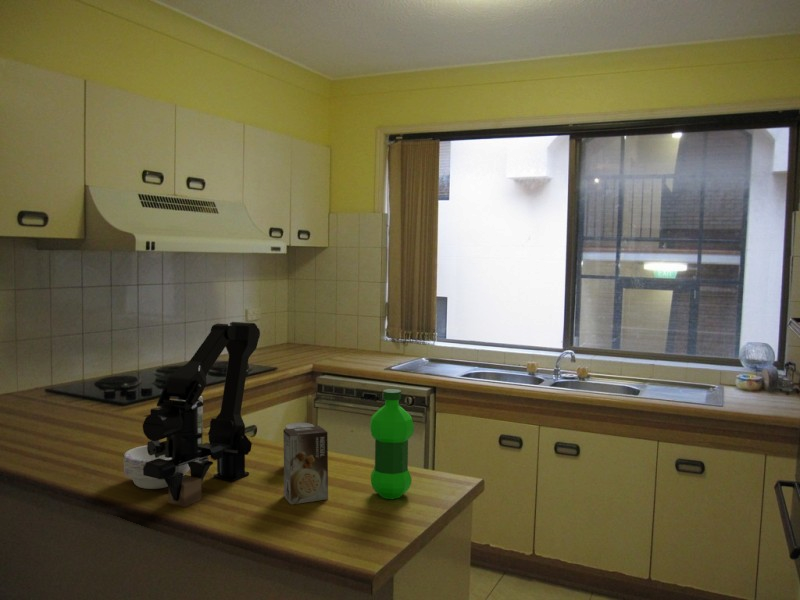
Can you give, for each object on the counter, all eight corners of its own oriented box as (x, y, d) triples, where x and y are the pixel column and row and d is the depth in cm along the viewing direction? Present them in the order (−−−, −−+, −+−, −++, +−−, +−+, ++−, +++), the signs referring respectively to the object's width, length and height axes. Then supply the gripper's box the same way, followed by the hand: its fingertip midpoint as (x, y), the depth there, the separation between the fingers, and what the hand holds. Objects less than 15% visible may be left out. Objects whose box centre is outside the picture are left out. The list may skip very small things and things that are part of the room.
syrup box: (192, 440, 198) (191, 392, 197) (203, 444, 194) (203, 395, 193) (174, 444, 193) (174, 395, 192) (186, 448, 190) (185, 399, 188)
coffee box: (320, 490, 158) (321, 425, 157) (328, 500, 152) (329, 431, 151) (282, 495, 154) (283, 428, 153) (289, 505, 148) (289, 435, 147)
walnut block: (201, 499, 151) (201, 478, 150) (184, 507, 146) (184, 485, 146) (185, 495, 153) (185, 474, 153) (168, 502, 149) (168, 481, 148)
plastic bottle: (362, 490, 158) (363, 388, 156) (402, 485, 162) (403, 385, 161) (378, 505, 149) (379, 396, 147) (419, 499, 153) (421, 393, 151)
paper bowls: (200, 474, 168) (199, 443, 167) (172, 495, 153) (171, 462, 152) (143, 471, 170) (143, 440, 169) (111, 492, 155) (110, 459, 154)
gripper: (190, 416, 161) (191, 478, 162) (125, 433, 144) (126, 503, 145) (224, 422, 155) (224, 487, 156) (160, 441, 139) (161, 513, 140)
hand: (185, 496), depth 150 cm, fingers closed on walnut block, 5 cm apart
